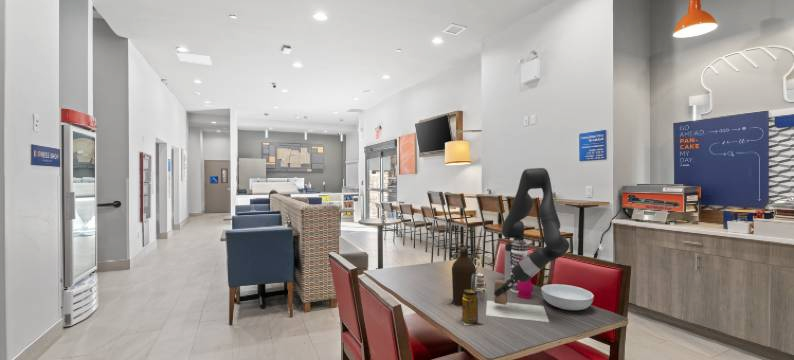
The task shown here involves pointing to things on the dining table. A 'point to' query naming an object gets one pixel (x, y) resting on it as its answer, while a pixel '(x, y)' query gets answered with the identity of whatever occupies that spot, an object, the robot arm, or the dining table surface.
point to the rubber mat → (517, 311)
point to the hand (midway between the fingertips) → (496, 293)
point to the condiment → (470, 308)
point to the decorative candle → (517, 256)
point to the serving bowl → (567, 296)
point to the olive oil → (462, 276)
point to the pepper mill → (524, 287)
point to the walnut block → (503, 297)
